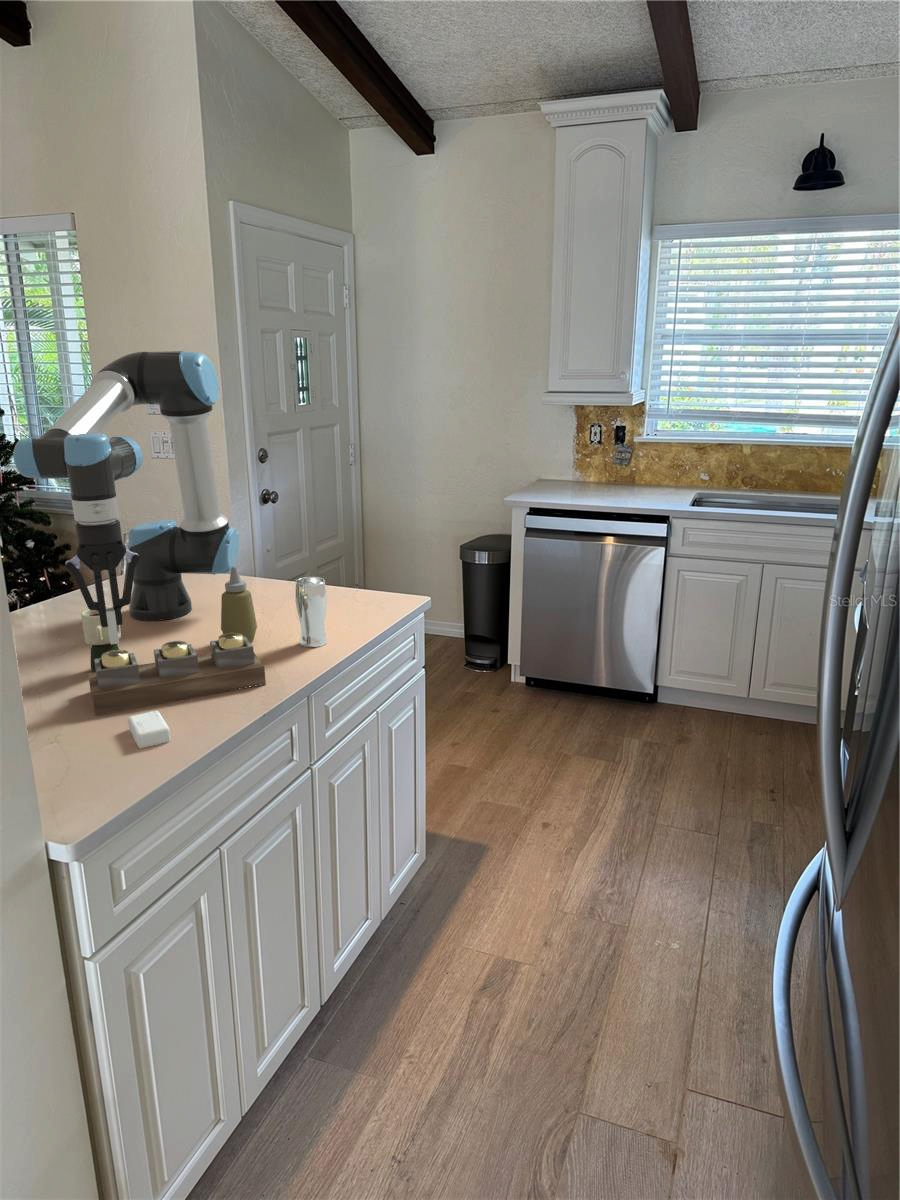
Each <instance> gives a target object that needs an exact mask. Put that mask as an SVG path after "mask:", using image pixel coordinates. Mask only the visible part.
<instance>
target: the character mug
mask: <svg viewBox="0 0 900 1200" xmlns="http://www.w3.org/2000/svg"><path fill="white" fill-rule="evenodd" d="M108 607H109V606H106V608H108ZM80 615H81V616H80V617H81V622H82V629H83V637H84V642H85V644H88V645H91V647H90V671H92V672H96V668H95V661H94V659H97V658H102V657H101V655H102V654H103V653H105V652H108V651H112V650H120V648H119V646H118V644H110V640H109V634H108V627H102V626H101V623H100V616H99V612H98V611H97V610H90V609H89V608H88V609H85V610H83V611H82V612H81V613H80ZM117 632H118V639H119V640H121V638H122V633H121V625H117Z"/></svg>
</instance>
